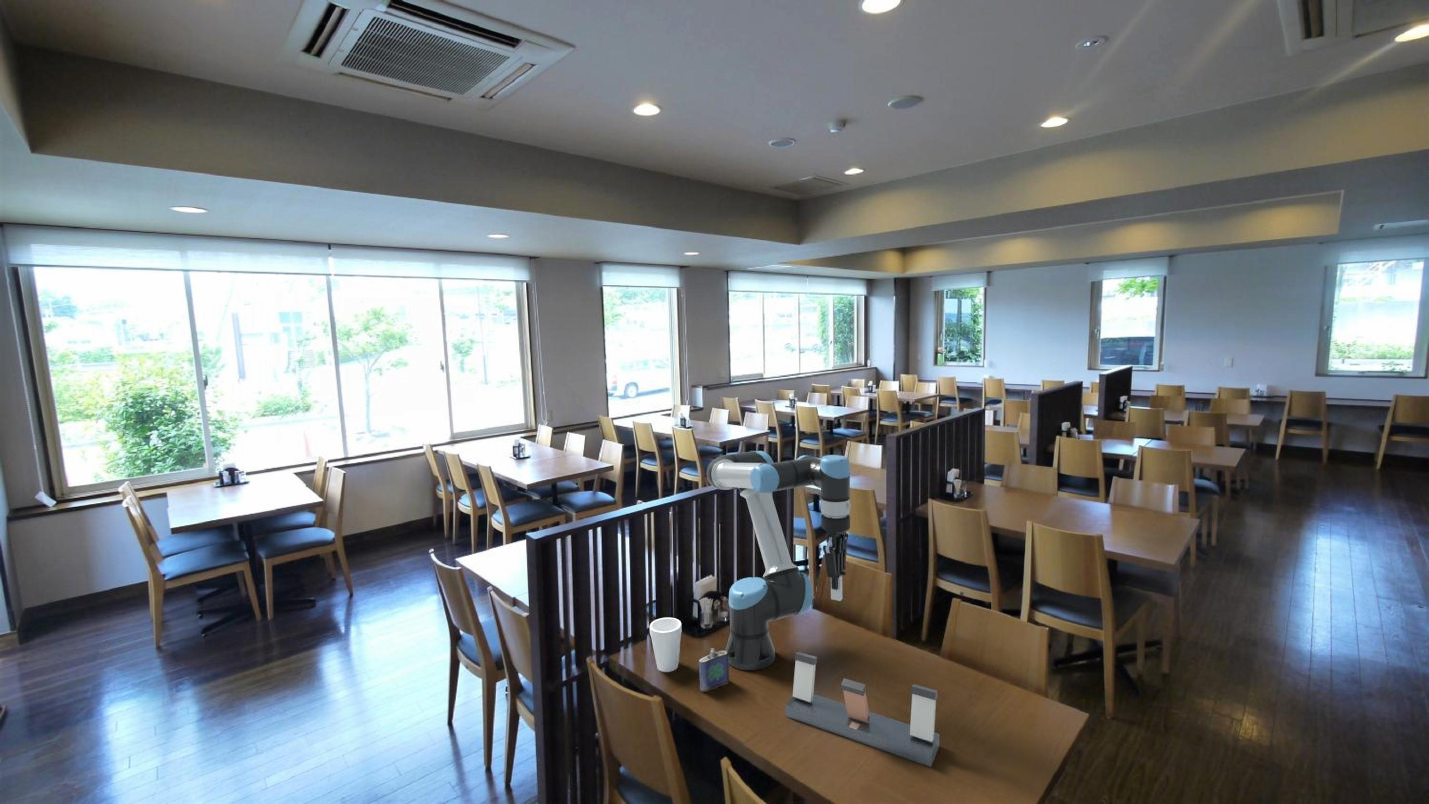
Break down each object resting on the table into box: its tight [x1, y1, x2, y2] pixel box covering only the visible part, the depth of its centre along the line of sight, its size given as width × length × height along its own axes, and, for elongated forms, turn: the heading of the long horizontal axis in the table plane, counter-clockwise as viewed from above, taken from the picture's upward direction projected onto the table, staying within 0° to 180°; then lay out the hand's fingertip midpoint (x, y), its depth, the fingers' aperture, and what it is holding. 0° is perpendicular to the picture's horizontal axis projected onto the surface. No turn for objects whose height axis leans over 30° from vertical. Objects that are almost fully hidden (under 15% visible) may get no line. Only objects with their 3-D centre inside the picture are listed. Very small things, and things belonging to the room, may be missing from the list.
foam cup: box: [649, 617, 683, 673], centre depth 176 cm, size 10×9×13 cm
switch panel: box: [784, 693, 940, 768], centre depth 144 cm, size 8×36×3 cm, turn 57°
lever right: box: [909, 683, 938, 742], centre depth 137 cm, size 2×5×11 cm, turn 57°
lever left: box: [792, 651, 818, 702], centre depth 153 cm, size 2×5×11 cm, turn 57°
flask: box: [698, 647, 730, 693], centre depth 165 cm, size 9×3×11 cm, turn 121°
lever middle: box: [840, 678, 870, 723], centre depth 142 cm, size 2×5×11 cm, turn 57°
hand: (836, 598), depth 159 cm, fingers closed
